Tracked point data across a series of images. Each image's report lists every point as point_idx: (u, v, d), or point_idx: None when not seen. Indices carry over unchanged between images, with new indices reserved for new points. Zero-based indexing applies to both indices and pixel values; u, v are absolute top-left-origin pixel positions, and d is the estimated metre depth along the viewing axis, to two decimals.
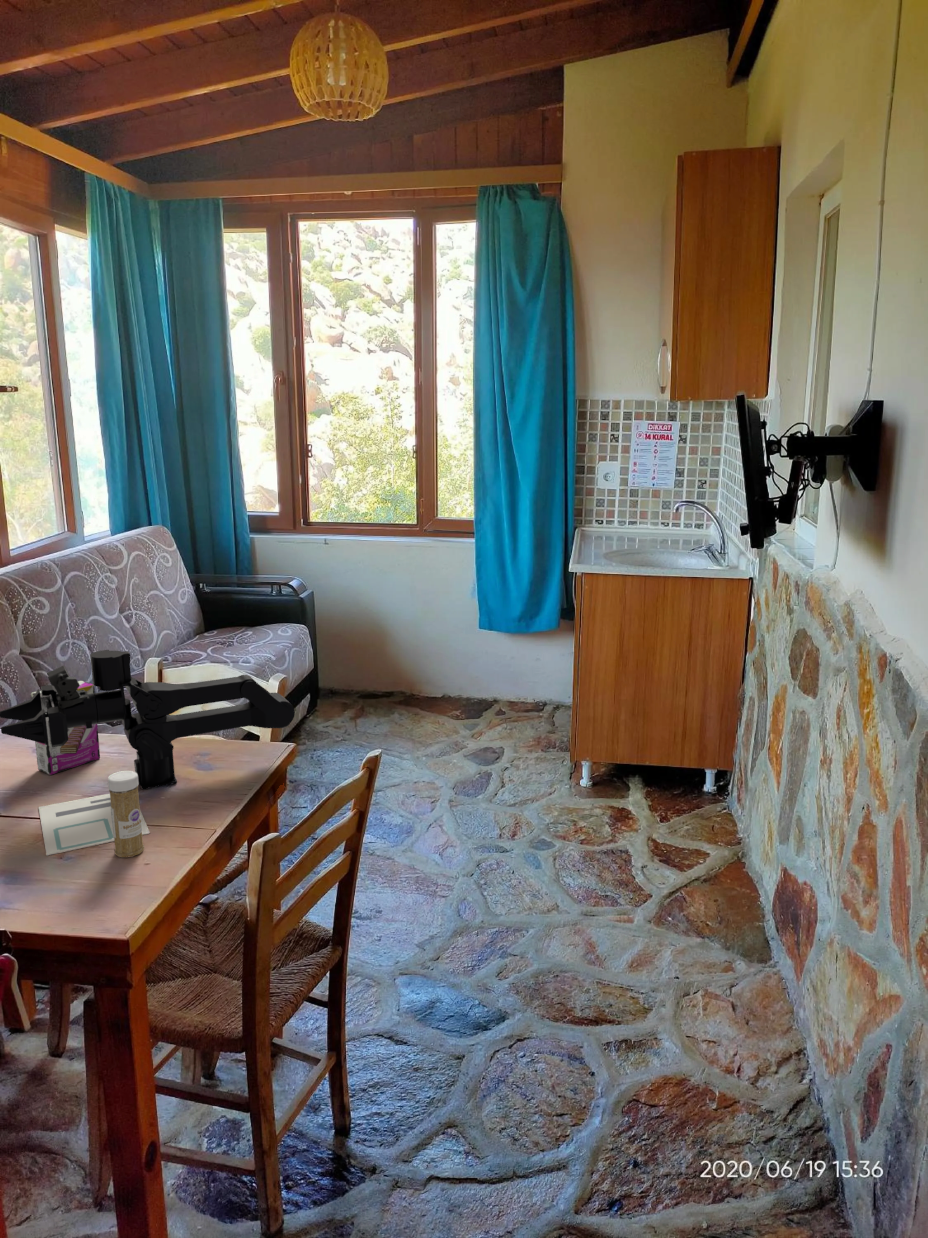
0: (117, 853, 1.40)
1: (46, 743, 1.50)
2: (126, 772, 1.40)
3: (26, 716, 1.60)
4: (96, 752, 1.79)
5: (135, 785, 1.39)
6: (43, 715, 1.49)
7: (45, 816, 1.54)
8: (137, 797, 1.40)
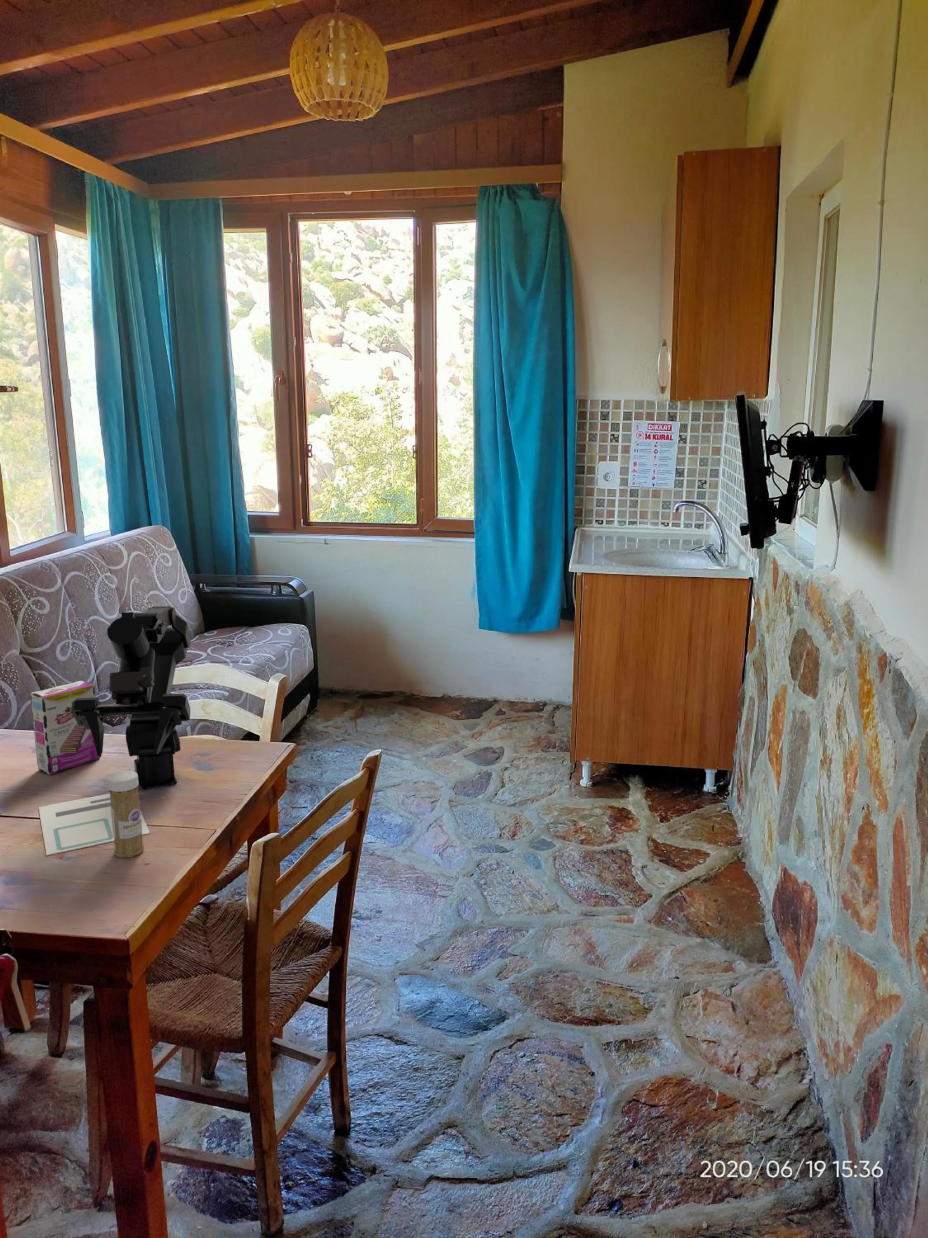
0: (117, 853, 1.40)
1: (181, 723, 1.53)
2: (126, 772, 1.40)
3: (101, 735, 1.49)
4: (96, 752, 1.79)
5: (135, 785, 1.39)
6: (176, 710, 1.49)
7: (45, 816, 1.54)
8: (137, 797, 1.40)
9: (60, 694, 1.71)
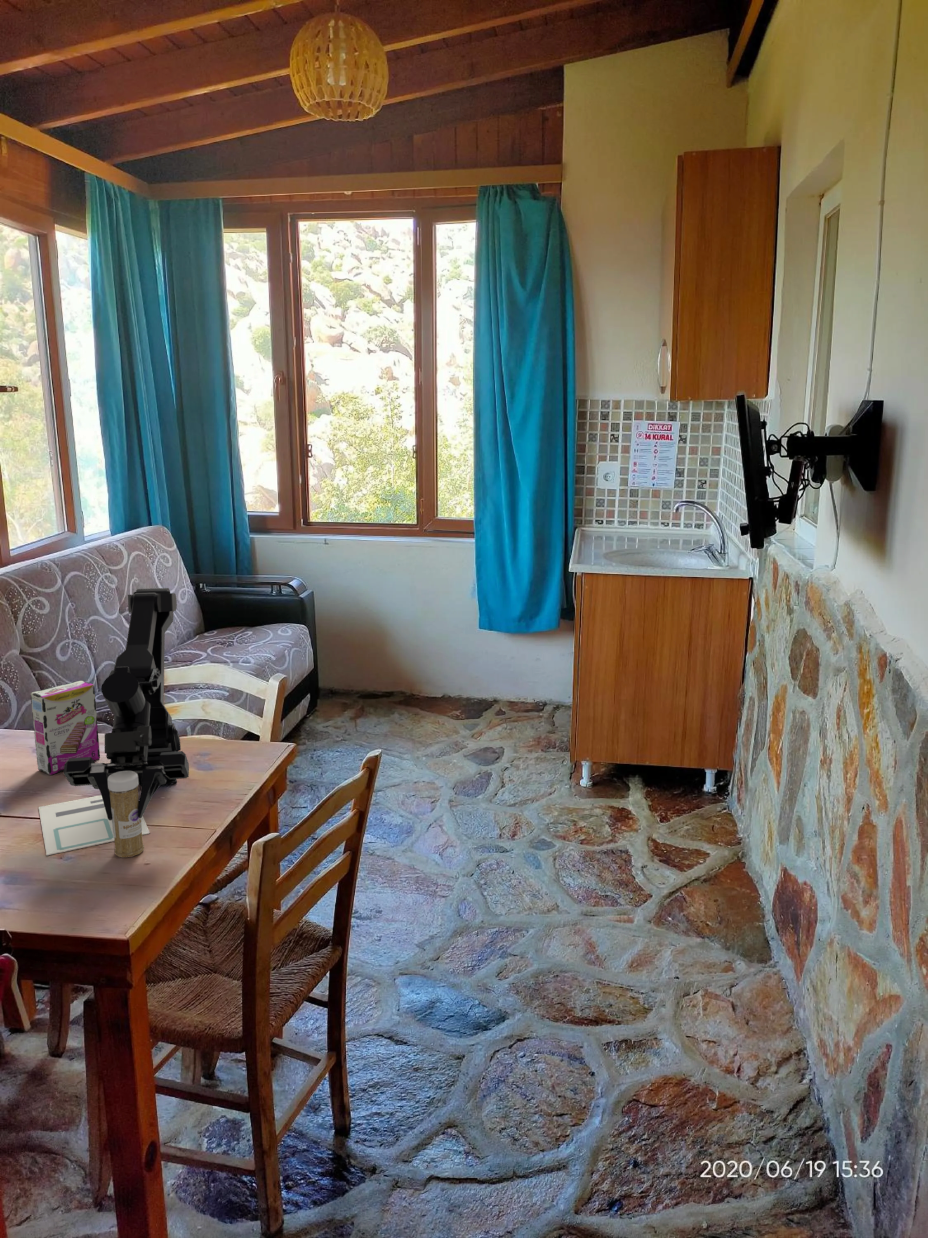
0: (117, 853, 1.40)
1: (165, 782, 1.46)
2: (126, 772, 1.40)
3: None
4: (96, 752, 1.79)
5: (135, 785, 1.39)
6: (160, 770, 1.41)
7: (45, 816, 1.54)
8: (137, 797, 1.40)
9: (60, 694, 1.71)
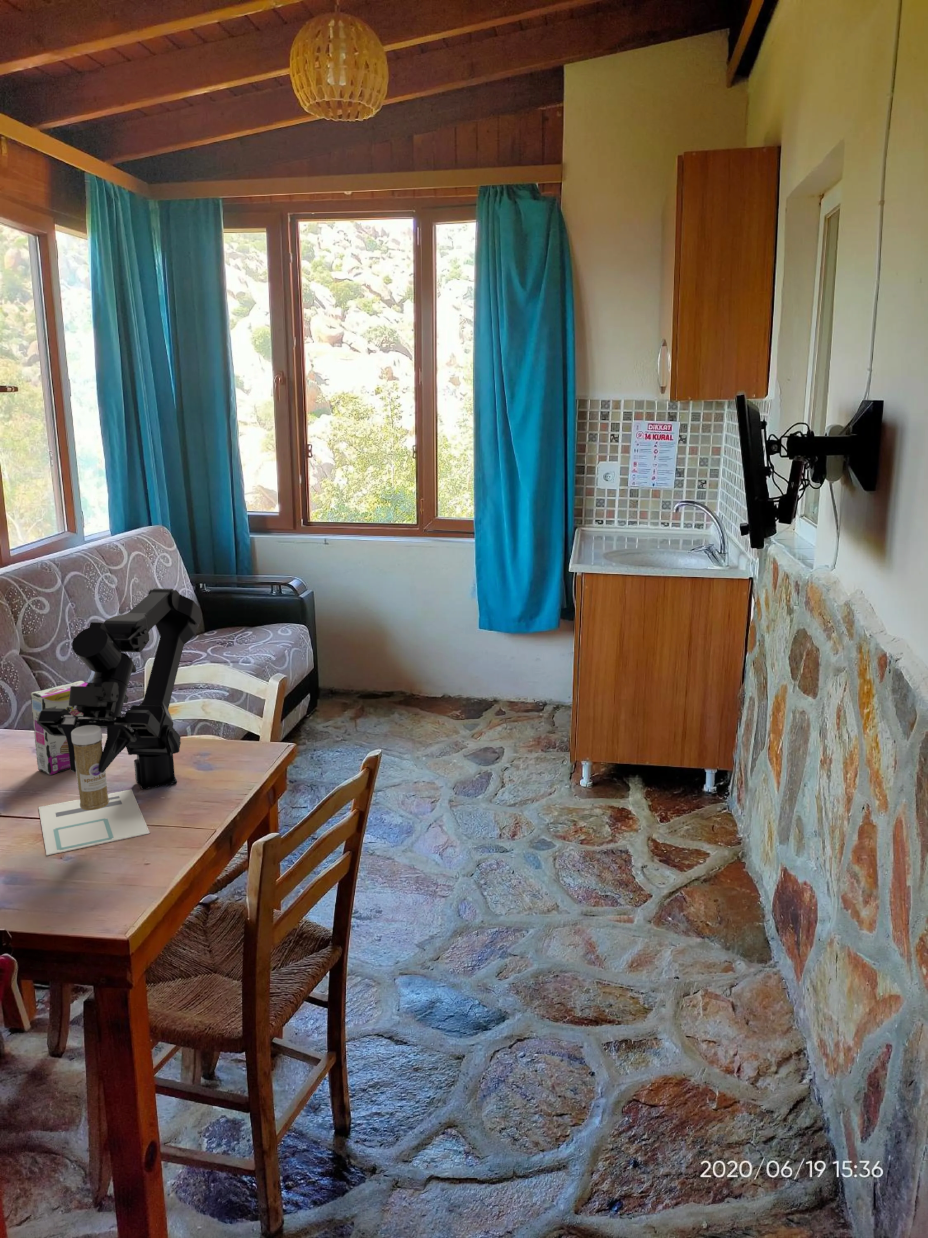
0: (80, 805, 1.42)
1: (135, 740, 1.46)
2: (91, 726, 1.42)
3: None
4: None
5: (96, 740, 1.40)
6: (123, 727, 1.42)
7: (45, 816, 1.54)
8: (99, 752, 1.41)
9: (60, 694, 1.71)
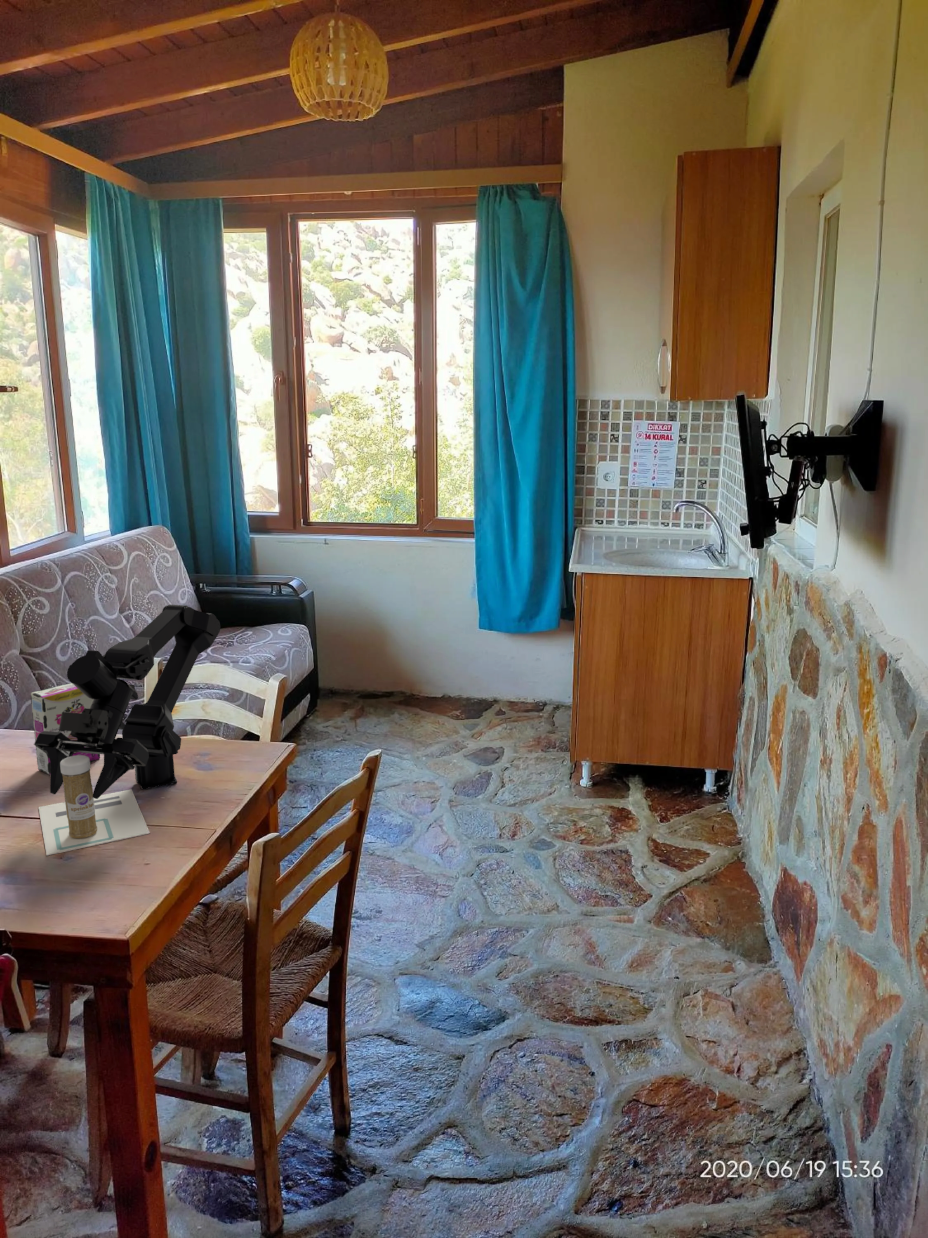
0: (69, 833, 1.47)
1: (133, 768, 1.49)
2: (80, 757, 1.46)
3: None
4: None
5: (82, 770, 1.44)
6: (118, 756, 1.44)
7: (45, 816, 1.54)
8: (86, 782, 1.45)
9: (60, 694, 1.71)
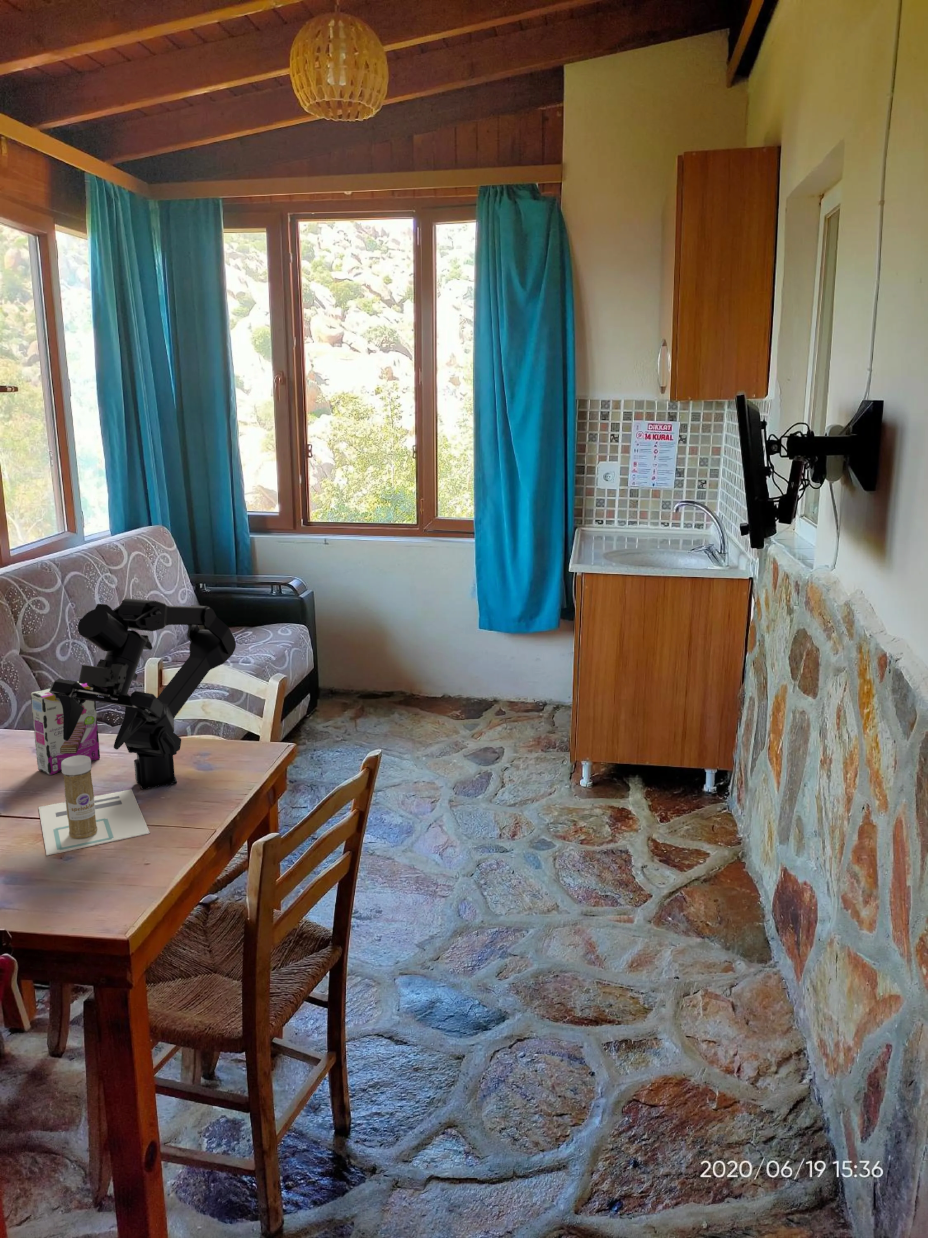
0: (69, 833, 1.47)
1: (151, 720, 1.54)
2: (82, 757, 1.46)
3: (75, 718, 1.54)
4: (96, 752, 1.79)
5: (83, 771, 1.44)
6: (140, 710, 1.50)
7: (45, 816, 1.54)
8: (87, 782, 1.45)
9: None
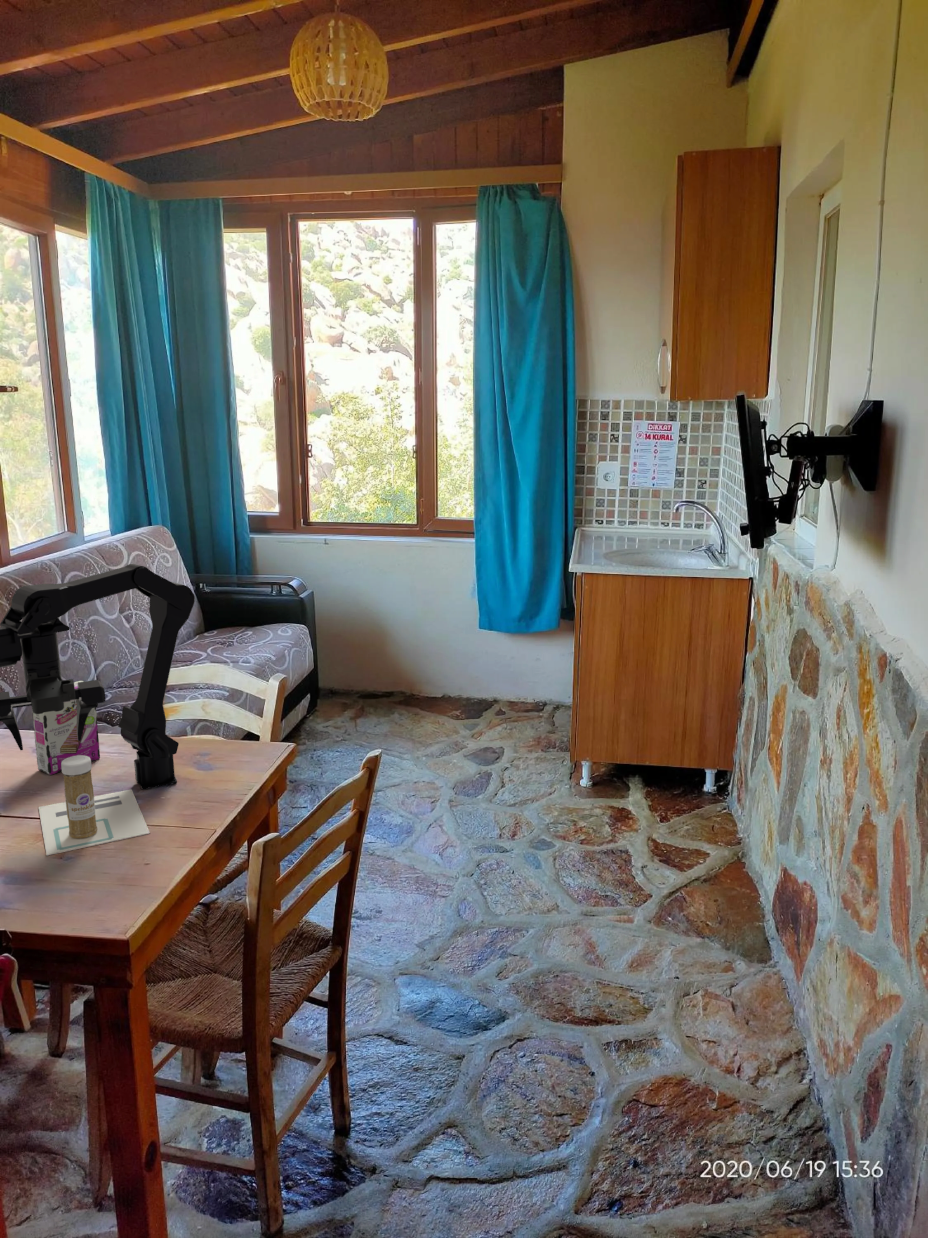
0: (69, 833, 1.47)
1: None
2: (82, 757, 1.46)
3: None
4: (96, 752, 1.79)
5: (83, 771, 1.44)
6: (96, 706, 1.53)
7: (45, 816, 1.54)
8: (87, 782, 1.45)
9: None
